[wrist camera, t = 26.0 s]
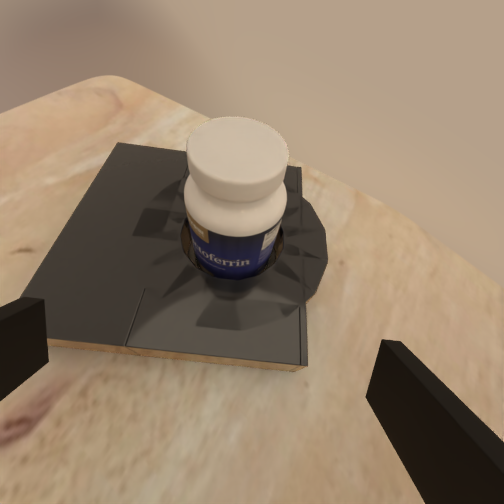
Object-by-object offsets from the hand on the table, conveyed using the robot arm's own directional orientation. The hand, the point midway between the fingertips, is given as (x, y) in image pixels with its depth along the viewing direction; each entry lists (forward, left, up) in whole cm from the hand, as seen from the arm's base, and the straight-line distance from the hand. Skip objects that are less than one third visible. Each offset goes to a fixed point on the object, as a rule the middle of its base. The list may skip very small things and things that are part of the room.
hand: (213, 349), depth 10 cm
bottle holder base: (+3, -8, -6) cm, 11 cm away
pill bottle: (0, -8, -7) cm, 11 cm away
